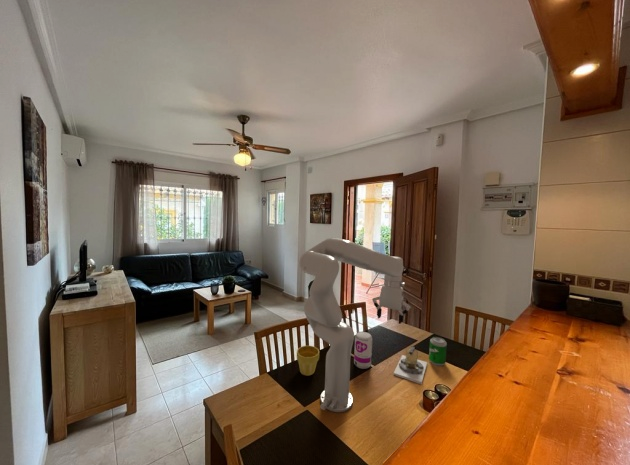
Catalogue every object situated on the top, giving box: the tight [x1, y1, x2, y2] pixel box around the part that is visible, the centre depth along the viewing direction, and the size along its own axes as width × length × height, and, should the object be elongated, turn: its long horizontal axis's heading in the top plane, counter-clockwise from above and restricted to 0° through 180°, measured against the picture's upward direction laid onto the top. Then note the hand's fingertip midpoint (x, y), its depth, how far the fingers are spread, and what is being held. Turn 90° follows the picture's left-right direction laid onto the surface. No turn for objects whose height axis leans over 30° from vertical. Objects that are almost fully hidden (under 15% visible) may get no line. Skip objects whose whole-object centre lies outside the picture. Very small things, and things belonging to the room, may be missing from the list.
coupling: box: [405, 345, 419, 369], centre depth 125 cm, size 5×6×9 cm
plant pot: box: [296, 345, 320, 376], centre depth 121 cm, size 10×10×10 cm
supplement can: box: [353, 331, 373, 370], centre depth 127 cm, size 8×8×15 cm
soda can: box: [428, 336, 448, 367], centre depth 131 cm, size 8×8×12 cm
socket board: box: [393, 354, 428, 385], centre depth 125 cm, size 18×12×2 cm, turn 150°
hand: (389, 320), depth 121 cm, fingers open, 9 cm apart
